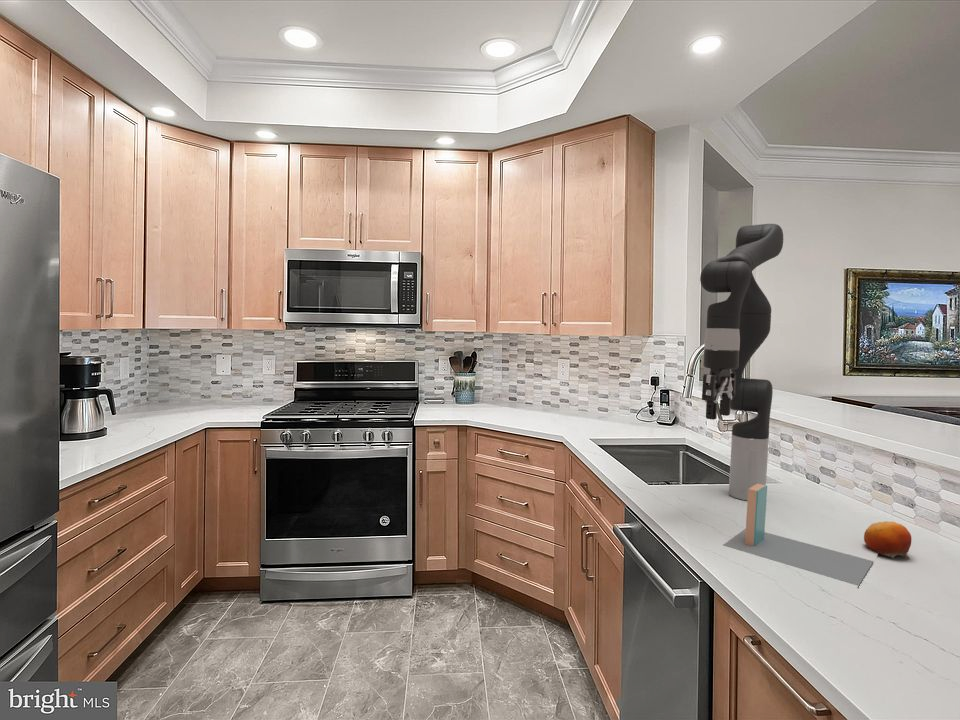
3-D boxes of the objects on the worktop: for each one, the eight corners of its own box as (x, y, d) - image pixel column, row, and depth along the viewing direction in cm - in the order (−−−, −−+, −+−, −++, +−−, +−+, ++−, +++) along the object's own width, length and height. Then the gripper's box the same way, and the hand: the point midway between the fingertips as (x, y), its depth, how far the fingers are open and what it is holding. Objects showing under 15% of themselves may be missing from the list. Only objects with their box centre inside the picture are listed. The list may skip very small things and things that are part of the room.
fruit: (901, 560, 106) (883, 519, 110) (867, 565, 113) (851, 526, 117) (931, 556, 108) (912, 516, 112) (895, 561, 115) (879, 523, 119)
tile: (754, 536, 119) (757, 483, 118) (764, 538, 117) (767, 485, 117) (745, 543, 115) (748, 488, 114) (754, 546, 113) (758, 491, 112)
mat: (747, 530, 124) (747, 527, 124) (873, 564, 107) (873, 561, 107) (722, 547, 114) (722, 545, 114) (858, 588, 97) (858, 585, 97)
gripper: (717, 347, 132) (713, 412, 133) (692, 347, 122) (689, 418, 123) (749, 348, 127) (745, 416, 128) (726, 349, 117) (722, 422, 118)
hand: (717, 417), depth 125 cm, fingers open, 8 cm apart
